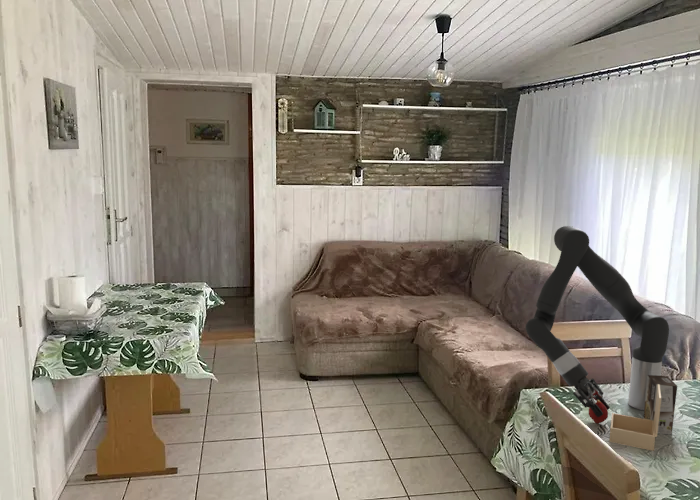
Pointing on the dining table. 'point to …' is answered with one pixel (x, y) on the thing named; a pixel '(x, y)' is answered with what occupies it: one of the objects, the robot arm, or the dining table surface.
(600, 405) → the onion
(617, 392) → the dining table surface
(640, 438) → the box
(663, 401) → the coffee box
